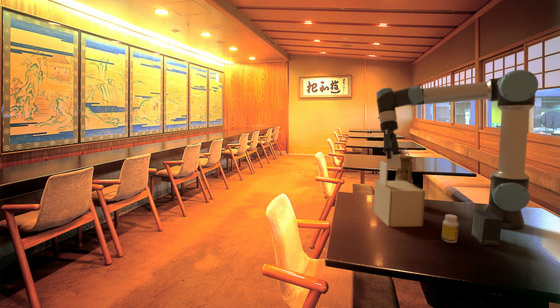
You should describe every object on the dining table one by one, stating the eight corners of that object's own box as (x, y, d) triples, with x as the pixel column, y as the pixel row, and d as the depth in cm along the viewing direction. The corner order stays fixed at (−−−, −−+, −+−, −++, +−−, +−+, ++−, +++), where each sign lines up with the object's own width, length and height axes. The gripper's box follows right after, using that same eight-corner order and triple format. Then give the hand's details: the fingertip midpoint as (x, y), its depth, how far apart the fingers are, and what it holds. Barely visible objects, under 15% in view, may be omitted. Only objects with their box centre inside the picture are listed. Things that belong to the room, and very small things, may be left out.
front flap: (374, 211, 156) (377, 159, 152) (389, 226, 136) (392, 166, 133) (373, 211, 156) (376, 159, 152) (388, 226, 136) (391, 166, 133)
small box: (500, 246, 118) (503, 219, 116) (481, 245, 119) (483, 218, 117) (488, 235, 128) (490, 210, 126) (470, 234, 129) (472, 209, 128)
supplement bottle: (456, 244, 119) (458, 219, 118) (440, 241, 122) (442, 216, 121) (457, 239, 124) (459, 215, 123) (442, 236, 127) (443, 212, 126)
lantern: (384, 200, 178) (387, 146, 174) (398, 198, 183) (401, 145, 179) (406, 207, 165) (409, 149, 161) (420, 205, 169) (423, 148, 165)
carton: (403, 212, 156) (405, 180, 154) (422, 227, 137) (425, 191, 135) (375, 212, 156) (376, 180, 154) (390, 227, 136) (392, 191, 134)
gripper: (386, 127, 159) (392, 170, 156) (372, 118, 138) (378, 167, 135) (402, 124, 155) (408, 168, 152) (390, 114, 134) (397, 164, 131)
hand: (394, 167), depth 143 cm, fingers open, 13 cm apart
